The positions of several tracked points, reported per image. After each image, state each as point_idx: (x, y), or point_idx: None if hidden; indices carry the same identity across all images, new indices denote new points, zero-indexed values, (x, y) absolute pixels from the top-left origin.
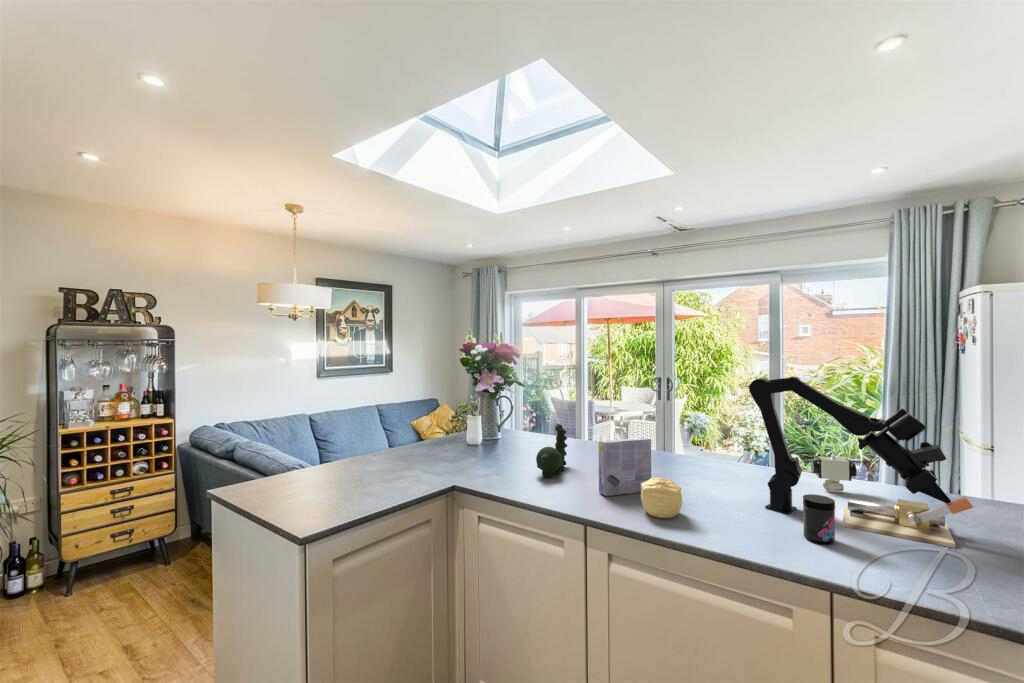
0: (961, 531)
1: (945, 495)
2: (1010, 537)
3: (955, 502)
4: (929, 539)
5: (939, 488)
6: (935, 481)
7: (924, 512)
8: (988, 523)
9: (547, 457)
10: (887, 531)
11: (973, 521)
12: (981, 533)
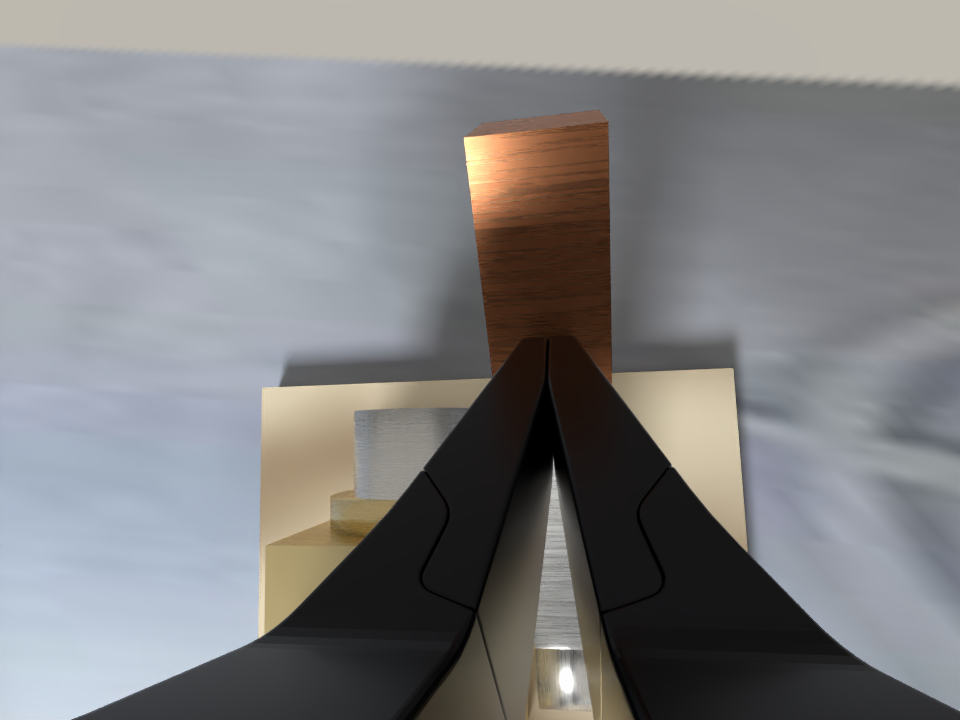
0: (305, 309)
1: (621, 400)
2: (253, 76)
3: (599, 287)
4: (743, 527)
5: (710, 513)
6: (919, 697)
7: (568, 592)
8: (43, 163)
9: None
10: None
11: (49, 233)
12: (273, 208)
